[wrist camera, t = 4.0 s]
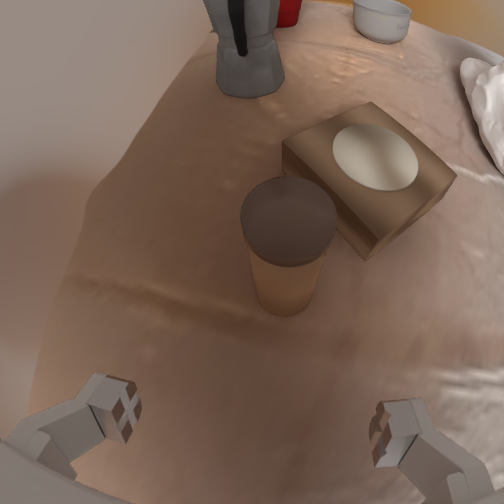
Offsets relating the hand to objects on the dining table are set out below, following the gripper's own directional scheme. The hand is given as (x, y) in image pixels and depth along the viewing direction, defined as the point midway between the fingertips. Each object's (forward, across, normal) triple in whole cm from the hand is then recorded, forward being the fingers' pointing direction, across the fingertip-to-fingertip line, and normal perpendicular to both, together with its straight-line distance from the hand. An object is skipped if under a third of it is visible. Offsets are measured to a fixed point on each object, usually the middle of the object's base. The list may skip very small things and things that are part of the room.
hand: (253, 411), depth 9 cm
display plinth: (+23, -8, -5) cm, 25 cm away
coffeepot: (+35, +4, -16) cm, 39 cm away
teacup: (+51, -18, -32) cm, 63 cm away
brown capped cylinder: (+15, -1, +3) cm, 16 cm away
